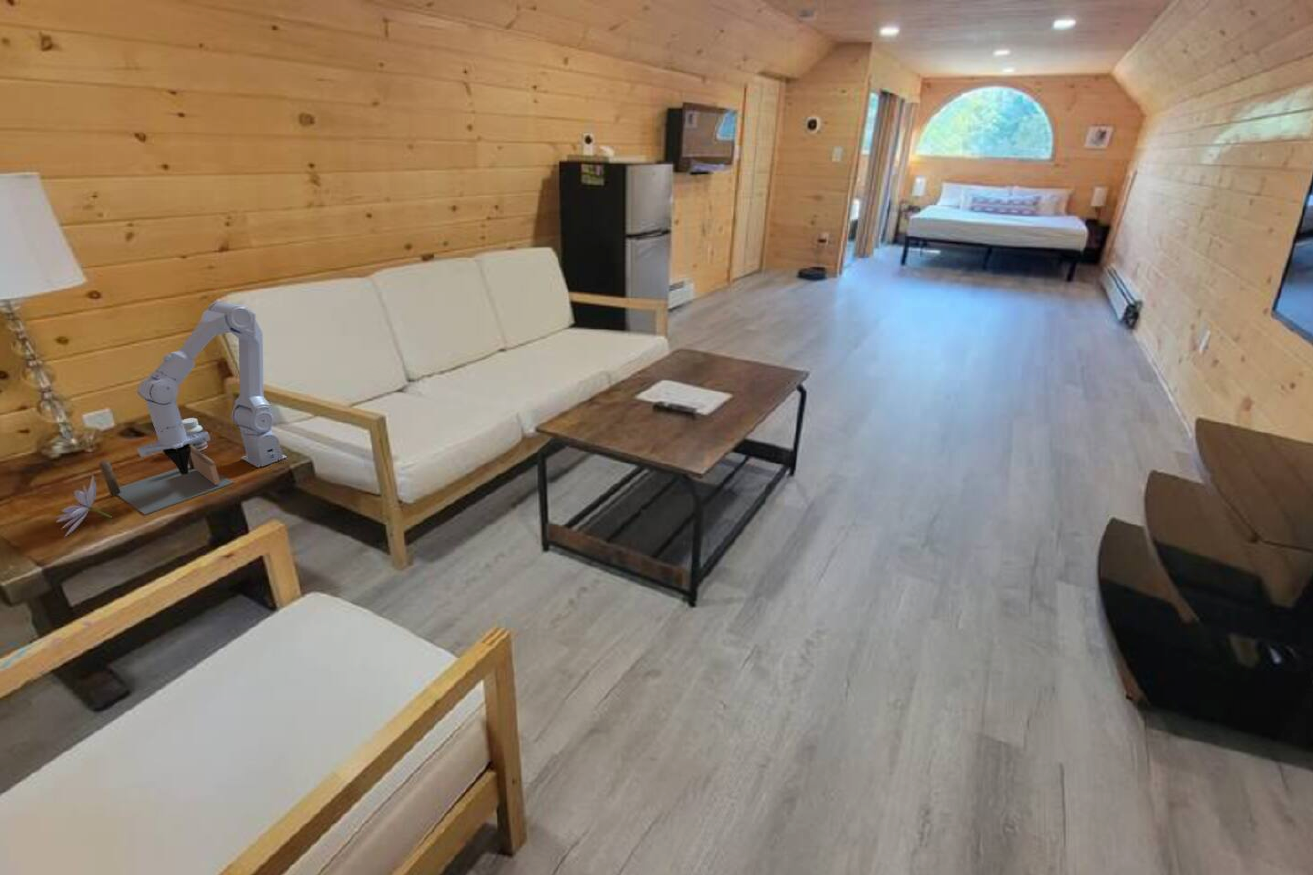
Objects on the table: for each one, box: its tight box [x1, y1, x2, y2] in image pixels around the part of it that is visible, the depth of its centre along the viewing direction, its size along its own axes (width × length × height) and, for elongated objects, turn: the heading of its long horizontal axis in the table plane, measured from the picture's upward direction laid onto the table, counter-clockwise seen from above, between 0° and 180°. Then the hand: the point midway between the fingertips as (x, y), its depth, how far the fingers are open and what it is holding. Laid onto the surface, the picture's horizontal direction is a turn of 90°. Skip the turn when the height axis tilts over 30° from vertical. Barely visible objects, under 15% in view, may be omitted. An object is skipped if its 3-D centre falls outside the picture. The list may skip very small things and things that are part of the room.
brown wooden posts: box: [98, 444, 195, 497], centre depth 164 cm, size 2×20×9 cm, turn 147°
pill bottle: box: [182, 417, 208, 452], centre depth 182 cm, size 5×5×9 cm
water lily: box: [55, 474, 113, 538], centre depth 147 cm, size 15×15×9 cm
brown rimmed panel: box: [190, 446, 220, 485], centre depth 166 cm, size 14×1×7 cm, turn 52°
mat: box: [117, 464, 235, 516], centre depth 164 cm, size 20×20×1 cm
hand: (184, 472), depth 162 cm, fingers closed
